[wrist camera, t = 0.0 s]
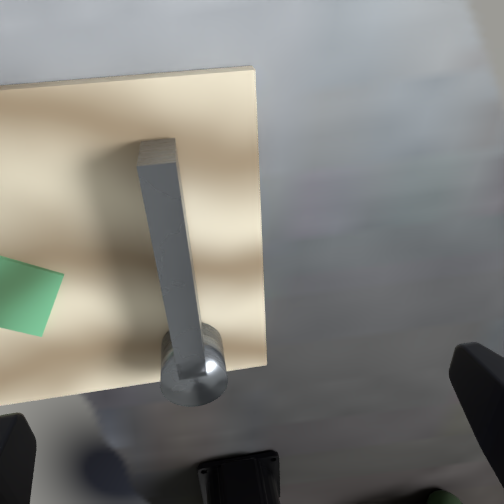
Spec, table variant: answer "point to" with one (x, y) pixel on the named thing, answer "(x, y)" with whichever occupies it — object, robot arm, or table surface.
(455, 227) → the table surface
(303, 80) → the table surface
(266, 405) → the table surface
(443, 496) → the toy figurine
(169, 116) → the dial board
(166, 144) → the grey long bar
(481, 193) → the table surface
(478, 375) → the robot arm
